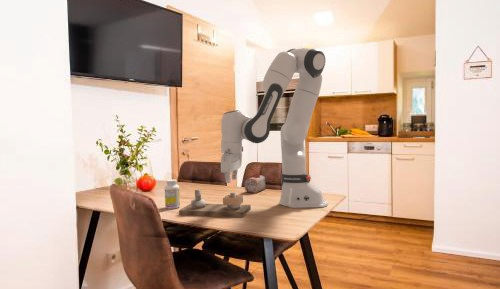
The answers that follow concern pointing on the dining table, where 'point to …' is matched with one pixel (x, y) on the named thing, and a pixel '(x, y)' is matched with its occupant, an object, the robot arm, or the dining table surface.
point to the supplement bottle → (172, 195)
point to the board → (213, 208)
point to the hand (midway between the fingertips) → (231, 181)
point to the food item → (255, 183)
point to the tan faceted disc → (233, 200)
